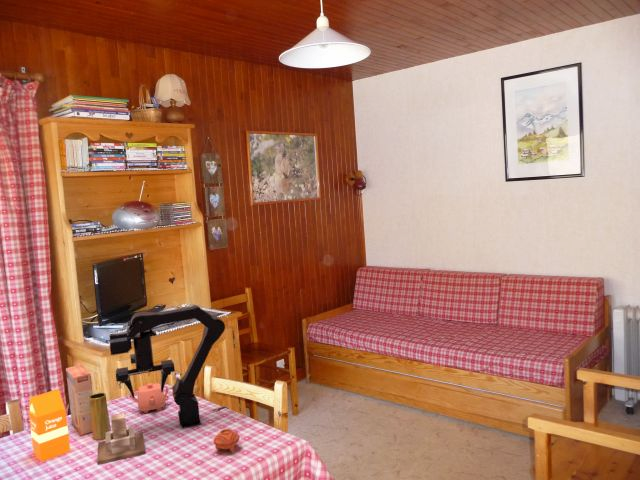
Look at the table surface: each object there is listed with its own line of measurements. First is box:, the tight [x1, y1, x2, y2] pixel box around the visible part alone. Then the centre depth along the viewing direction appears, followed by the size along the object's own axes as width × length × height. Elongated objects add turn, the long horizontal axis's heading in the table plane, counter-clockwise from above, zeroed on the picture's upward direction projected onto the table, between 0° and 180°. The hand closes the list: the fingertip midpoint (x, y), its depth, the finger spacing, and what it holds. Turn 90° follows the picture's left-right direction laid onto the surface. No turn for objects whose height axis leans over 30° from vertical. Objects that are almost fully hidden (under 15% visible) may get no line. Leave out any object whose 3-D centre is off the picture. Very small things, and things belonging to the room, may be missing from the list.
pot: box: [213, 428, 240, 453], centre depth 171 cm, size 8×8×7 cm
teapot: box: [129, 382, 170, 414], centre depth 207 cm, size 12×12×10 cm
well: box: [96, 426, 146, 465], centre depth 176 cm, size 14×14×5 cm
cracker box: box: [65, 364, 94, 436], centre depth 194 cm, size 14×6×21 cm, turn 35°
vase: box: [89, 392, 112, 441], centre depth 186 cm, size 6×6×14 cm
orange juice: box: [27, 388, 71, 462], centre depth 176 cm, size 8×9×20 cm
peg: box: [110, 412, 127, 439], centre depth 175 cm, size 4×4×10 cm
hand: (147, 394), depth 187 cm, fingers open, 9 cm apart
